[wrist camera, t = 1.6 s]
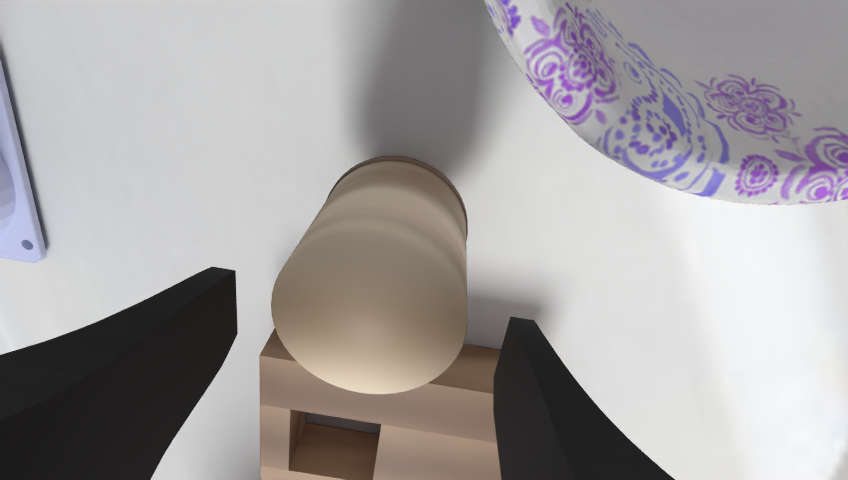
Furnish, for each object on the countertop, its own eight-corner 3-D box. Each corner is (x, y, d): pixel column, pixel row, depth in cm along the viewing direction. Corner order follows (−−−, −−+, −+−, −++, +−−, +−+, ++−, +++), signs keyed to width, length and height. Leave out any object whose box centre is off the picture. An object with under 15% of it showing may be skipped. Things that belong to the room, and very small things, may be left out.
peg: (345, 125, 19) (269, 213, 12) (478, 147, 19) (487, 250, 12) (336, 243, 22) (269, 378, 14) (454, 263, 22) (450, 408, 14)
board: (282, 314, 24) (259, 355, 21) (527, 354, 24) (535, 400, 21) (278, 498, 30) (261, 547, 27) (471, 529, 30) (472, 582, 28)
